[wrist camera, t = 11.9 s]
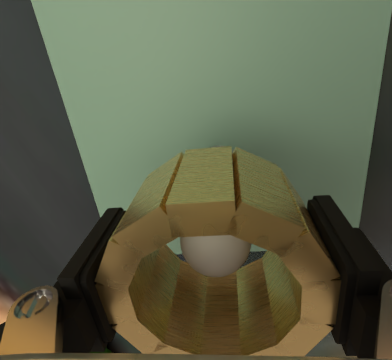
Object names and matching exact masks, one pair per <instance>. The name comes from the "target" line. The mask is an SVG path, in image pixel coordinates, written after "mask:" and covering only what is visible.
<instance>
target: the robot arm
mask: <svg viewBox="0 0 392 360" xmlns="http://www.w3.org/2000/svg"><path fill="white" fill-rule="evenodd" d="M307 210H308V212H309V214H310V216H311V218H312V220H313V222H314V224H315V226H316V228H317V230H318V232H319V234H320V236H321V238H322V240H323V242H324V244H325V246H326V248H327V250H328V252H329V254H330V256H331V258H332V260H333V262H334V264H335V266H336V268H337V270H338V272H339V274H340V277H339V278H340V280H341V286H340V293H339V301H338V308H337V316H336V323H335V324H332V325H333V327H334V328H333V329H332V330H331V332H332V335H333V338H334V340H335V342H336V343H337V344H342V346H343V349H344V352H345V354H346V356H357V357H358V358H339V357H301V356H255V355H201V354H131V353H90V352H104V351H105V349H106V346H107V344H108V342H110V341H112V340H113V338H114V336H115V333H116V331H115V330H114V329H113V328H112V325H113V324H109V321H108V318H107V316H106V313H105V310H104V308H103V305H102V303H101V300H100V297H99V295H98V292H97V289H96V287H95V285H96V283H97V282H94V281H95V279H96V276H97V273H98V270H99V267H100V264H101V261H102V258H103V256H104V253H105V250H106V247H107V244H108V241H109V239H110V238H111V236H112V234H113V233H114V231H115V229H116V227H117V226H118V224H119V222H120V221H121V219H122V217H123V216H124V214H125V212H126V210H123V208H121V207H118V208H108V209H107V210H106V211H105V212H104V214H103V215H102V217H101V218H100V219H99V221H98V222H97V224H96V225H95V226H94V228H93V229H92V230H91V232H90V233H89V235H88V236H87V237H86V239H85V240H84V242H83V243H82V244H81V246H80V247H79V249H78V250H77V251H76V253H75V254H74V255H73V257H72V258H71V260H70V261H69V262H68V264H67V265H66V267H65V268H64V269H63V271H62V272H61V274H60V275H59V276H58V278H57V280H58V281H57V282H56V283H55V285H54V286H40V287H37V288H34V289H32V290H30V291H28V292H26V293H25V294H23V295H22V296H21V297H19V298H18V299H17V300H16V301H15V302H14V303H13V305H12V306H11V308H10V310H9V312H8V316H7V320H6V322H4V323H3V324H1V325H0V360H392V271H391V270H390V269H389V267H388V266H387V265H386V263H385V262H384V261H383V259H382V258H381V257H380V255H379V254H378V252H377V251H376V250H375V248H374V247H373V246H372V244H371V243H370V242H369V240H368V239H367V238H366V236H365V235H364V233H363V232H362V231H361V230H360V229H359V228H357V227H356V228H353V227H352V226H351V224H350V223H349V221H348V220H347V219H346V217H345V216H344V214H343V213H342V211H341V210H340V209H339V207H338V206H337V204H336V203H335V201H334V200H333V199H332V197H331V196H330V195H317V196H313V198H312V200H308V203H307Z"/></svg>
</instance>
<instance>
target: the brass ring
mask: <svg viewBox="0 0 392 360" xmlns="http://www.w3.org/2000/svg"><path fill="white" fill-rule="evenodd" d="M219 235H231V236H234V237H236V238H239V239H241V240H244V241H246V242H249V243H251V244H253V245H256V246H258V247H261V248H263V249H266V250H267V251H266V253H265V254H264V255H263V257H262V258H260V259H258V260H256V261H254V262H252V263H250V264H248V265H246V266H244V267H241V268H239V269H238V270H237V271H235V272H234V273H232V274H230V275H227V276H224V277H209V276H205V275H203V274H200V273H199V272H197V271H195V270H194V269H193V268H192V267H191V266H190V265H189V264H188V263H187V262H184V261H182V260H180V259H179V258H178V257H177V255H176V254H175V253H174V252H173V251H172V250H171V249H170V248H169V247H168V246H167V245H166V244H168V243H169V242H171V241H173V240H175V239H176V238H178V237H196V236H219ZM339 277H340V274H339V272H338V270H337V268H336V266H335V264H334V262H333V260H332V258H331V256H330V254H329V252H328V250H327V248H326V246H325V244H324V242H323V240H322V238H321V236H320V234H319V232H318V230H317V228H316V226H315V224H314V222H313V220H312V218H311V216H310V214H309V212H308V210H307V208H306V206H305V204H304V202H303V200H302V199H301V197H300V196H299V194H298V193H297V191H296V190H295V188H294V187H293V185H292V184H291V182H290V181H289V179H288V178H287V176H286V175H285V173H284V172H283V171H282V169H281V168H278V166H277V164H274V163H272V162H270V161H268V160H265V159H263V158H261V157H258V156H256V155H254V154H252V153H249V152H247V151H245V150H243V149H240V148H238V147H235V149H234V151H233V153H232V148H231V146H223V147H212V148H201V149H189V150H186V151H185V153H183V152H182V151H181V152H180V153H179V154H177V155H176V156H174V157H173V158H171V159H170V160H169V161H167V162H166V163H164V164H163V165H161V166H160V167H159V168H157V169H156V170H154V171H153V172H151V173H150V174H149V175H148V176H147V178H146V179H145V180H144V182H143V184H142V185H141V187H140V189H139V191H138V192H137V194H136V196H135V197H134V199H133V201H132V202H131V204H130V206H129V207H128V209H127V211H126V212H125V214H124V216H123V217H122V219H121V221H120V222H119V224H118V226H117V227H116V229H115V231H114V233H113V234H112V236H111V238H110V239H109V241H108V244H107V247H106V250H105V253H104V256H103V258H102V261H101V264H100V267H99V270H98V273H97V276H96V279H95V281H94V282H97V283H96V285H95V287H96V289H97V292H98V295H99V297H100V300H101V303H102V305H103V308H104V310H105V313H106V316H107V318H108V321H109V324H113V325H112V328H113V329H114V330H115V331H117V332H118V333H119V334H120V335H121V336H123V337H124V338H125V339H126V340H127V341H129V342H130V343H131V344H132V345H133V346H134V347H136V348H137V349H138V350H139V351H140V352H142V353H143V354H201V355H255V356H301V357H304V356H305V355H306V354H307V353H308V352H309V351H310V350H311V349H312V348H313V347H314V346H315V345H317V344H318V343H319V342H320V341H321V340H322V339H323V338H324V337H325V336H326V335H327V334H328V333H329V332H330V331H331V330H332V329H333V328H334V327H333V325H332V324H335V323H336V316H337V308H338V301H339V293H340V286H341V280H340V278H339Z"/></svg>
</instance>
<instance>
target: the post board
mask: <svg viewBox="0 0 392 360" xmlns="http://www.w3.org/2000/svg"><path fill="white" fill-rule="evenodd" d="M31 2H32V5H33V8H34V11H35V14H36V18H37V21H38V24H39V27H40V30H41V33H42V36H43V39H44V43H45V46H46V49H47V52H48V55H49V58H50V61H51V64H52V68H53V71H54V74H55V77H56V80H57V83H58V86H59V89H60V93H61V96H62V99H63V102H64V105H65V108H66V111H67V114H68V117H69V121H70V124H71V127H72V130H73V133H74V136H75V139H76V142H77V146H78V149H79V152H80V155H81V158H82V161H83V164H84V167H85V171H86V174H87V177H88V180H89V183H90V186H91V189H92V192H93V195H94V199H95V202H96V205H97V208H98V211H99V214H100V217H102V215H103V214H104V212H105V211H106V210H107V209H108V208H118V207H121V208H123V210H126V211H127V209H128V207H129V206H130V204H131V202H132V201H133V199H134V197H135V196H136V194H137V192H138V191H139V189H140V187H141V185H142V184H143V182H144V180H145V179H146V178H147V176H148V175H149V174H150V173H151V172H153V171H154V170H156V169H157V168H159V167H160V166H161V165H163V164H164V163H166V162H167V161H169V160H170V159H171V158H173V157H174V156H176V155H177V154H179V153H180V152H181V151H182V152H183V153H185V151H186V150H189V149H201V148H212V147H223V146H231V148H232V153H233V151H234V149H235V147H238V148H240V149H243V150H245V151H247V152H249V153H252V154H254V155H256V156H258V157H261V158H263V159H265V160H268V161H270V162H272V163H274V164H277V166H278V168H281V169H282V171H283V172H284V173H285V175H286V176H287V178H288V179H289V181H290V182H291V184H292V185H293V187H294V188H295V190H296V191H297V193H298V194H299V196H300V197H301V199H302V200H303V202H304V204H305V206H306V208H307V203H308V200H312V198H313V196H317V195H330V196H331V197H332V199H333V200H334V201H335V203H336V204H337V206H338V207H339V209H340V210H341V211H342V213H343V214H344V216H345V217H346V219H347V220H348V221H349V223H350V224H351V226H352V227H353V228H356V227H357V228H359V223H360V217H361V210H362V203H363V197H364V190H365V184H366V177H367V170H368V164H369V157H370V151H371V144H372V138H373V131H374V124H375V118H376V111H377V105H378V98H379V91H380V85H381V78H382V72H383V65H384V58H385V52H386V45H387V39H388V32H389V26H390V19H391V12H392V0H31ZM166 245H167V246H168V247H169V248H170V249H171V250H172V251H173V252H174V253H175V254H183V256H184V258H185V260H186V261H187V263H188V264H189V265H190V266H191V267H192V268H193V269H194V270H195V271H197V272H199V273H200V274H203V275H205V276H209V277H224V276H227V275H230V274H232V273H234V272H235V271H237V270H238V269H239V268H240V267H241V266H242V265H243V264H244V263H245V261H246V260H247V258H248V255H249V253H250V252H252V251H267V250H266V249H263V248H261V247H258V246H256V245H253V244H251V243H249V242H246V241H244V240H241V239H239V238H236V237H234V236H231V235H219V236H196V237H178V238H176V239H175V240H173V241H171V242H169V243H168V244H166Z"/></svg>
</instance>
